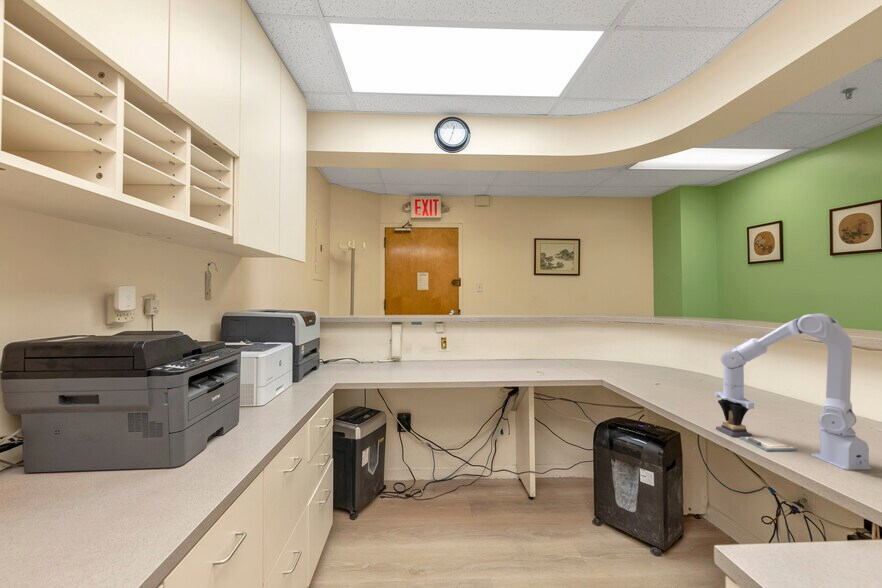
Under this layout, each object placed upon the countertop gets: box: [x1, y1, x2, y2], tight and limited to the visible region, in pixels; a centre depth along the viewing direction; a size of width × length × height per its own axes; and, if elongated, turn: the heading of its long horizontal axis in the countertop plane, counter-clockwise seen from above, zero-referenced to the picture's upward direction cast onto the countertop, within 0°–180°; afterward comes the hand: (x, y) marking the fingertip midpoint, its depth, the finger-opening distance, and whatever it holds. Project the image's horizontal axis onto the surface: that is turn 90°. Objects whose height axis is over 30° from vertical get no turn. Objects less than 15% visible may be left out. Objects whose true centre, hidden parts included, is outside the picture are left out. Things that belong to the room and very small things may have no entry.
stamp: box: [721, 410, 748, 432], centre depth 131 cm, size 5×5×6 cm
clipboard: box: [739, 435, 798, 452], centre depth 121 cm, size 10×10×1 cm
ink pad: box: [715, 426, 752, 438], centre depth 131 cm, size 7×7×1 cm
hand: (733, 422), depth 131 cm, fingers closed on stamp, 3 cm apart
